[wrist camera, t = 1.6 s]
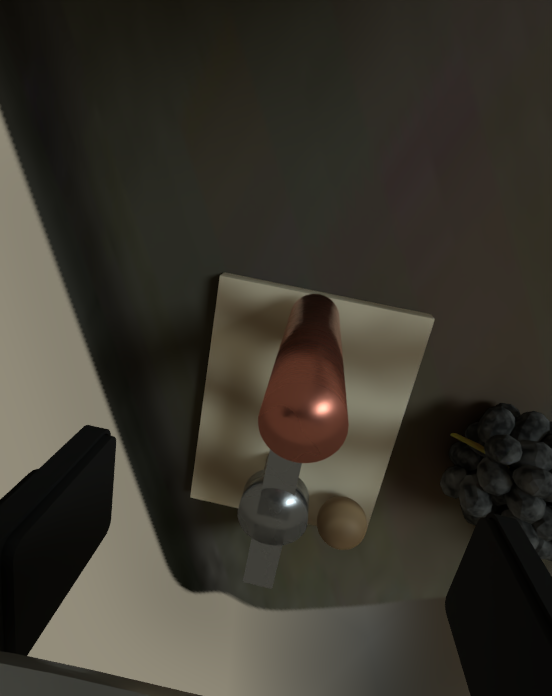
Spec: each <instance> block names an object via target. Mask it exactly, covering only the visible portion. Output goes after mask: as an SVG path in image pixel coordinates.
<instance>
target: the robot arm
mask: <svg viewBox="0 0 552 696" xmlns="http://www.w3.org/2000/svg"><path fill="white" fill-rule="evenodd" d="M115 451H116V438H115V437H113V436H111V433H110V431H109V430H108V429H104V428H99V427H94V426H90V425H86V426H84V427H83V428H82V429H81V430H80V431H79V432H78V433H77V434H75V435H74V436H73V437H72V438H71V439H70V440H69V441H68V442H67V443H66V444H65V445H64V446H63V447H62V448H61V449H60V450H58V451H57V452H56V453H55V455H53V456H52V457H51V458H50V459H49V460H48V461H47V462H46V463H45V464H44V465H43V466H42V467H40V468H39V469H36V470H33V471H32V472H30V473H29V474H28V475H27V476H25V477H24V478H23V479H22V480H21V481H20V482H19V483H18V484H17V485H16V486H15V487H14V488H13V489H12V490H11V491H9V492H8V493H7V494H6V495H5V496H4V497H3V498H2V499H1V500H0V696H201V695H197V694H192V693H188V692H183V691H179V690H175V689H171V688H167V687H162V686H158V685H154V684H150V683H145V682H141V681H137V680H132V679H128V678H124V677H120V676H115V675H111V674H107V673H103V672H98V671H94V670H89V669H85V668H80V667H76V666H70V665H66V664H61V663H57V662H51V661H47V660H43V659H38V658H33V657H29V656H27V655H28V653H29V652H30V650H31V649H32V647H33V646H34V644H35V643H36V641H37V639H38V638H39V637H40V635H41V633H42V632H43V630H44V629H45V627H46V626H47V624H48V623H49V621H50V620H51V618H52V616H53V615H54V613H55V612H56V611H57V609H58V607H59V606H60V604H61V603H62V601H63V599H64V598H65V597H66V595H67V593H68V592H69V591H70V589H71V587H72V586H73V584H74V583H75V581H76V580H77V578H78V577H79V575H80V574H81V572H82V571H83V569H84V567H85V566H86V564H87V563H88V561H89V560H90V558H91V557H92V555H93V554H94V552H95V551H96V549H97V548H98V546H99V545H100V543H101V541H102V540H103V538H104V537H105V535H106V534H107V531H108V529H109V526H110V522H111V511H112V496H113V481H114V466H115ZM445 608H446V614H447V618H448V621H449V624H450V627H451V631H452V635H453V638H454V641H455V645H456V648H457V651H458V655H459V658H460V661H461V665H462V668H463V671H464V675H465V678H466V682H467V685H468V688H469V692H470V695H471V696H552V577H551V575H550V573H549V572H548V570H547V568H546V567H545V565H544V563H543V562H542V560H541V558H540V557H539V555H538V554H537V552H536V550H535V549H534V547H533V545H532V544H531V542H530V540H529V539H528V537H527V535H526V534H525V532H524V530H523V529H522V527H521V525H520V524H519V522H518V521H517V520H516V519H515V518H512V517H507V516H503V515H498V514H493V513H489V514H488V515H487V516H486V518H484V517H482V518H480V519H479V520H478V522H477V524H476V527H475V529H474V532H473V534H472V536H471V539H470V541H469V544H468V546H467V548H466V551H465V553H464V555H463V558H462V560H461V563H460V565H459V567H458V570H457V572H456V574H455V577H454V579H453V582H452V584H451V586H450V589H449V591H448V594H447V596H446V601H445Z"/></svg>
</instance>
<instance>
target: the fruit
mask: <svg viewBox="0 0 552 696" xmlns="http://www.w3.org/2000/svg"><path fill="white" fill-rule="evenodd" d="M450 435H451V436H453V437H454V438H456V439H458V440H460V441H462V442H459V441H458V442H457V443H455V444H453V445H452V446H451V448H450V451H449V457H450V459H451V461H452V462H453V463H454V464H455V465H456V466H454V467H448V469H447V470H446V471H445V472H444V473H443V475H442V478H441V482H440V485H441V488H442V490H443V492H444V494H446V495H447V496H450V497H452V498H455V499H456V498H459V499H460V505H461V509H462V512H463V515H464V518H465V519H466V520H467V521H468V523H470V524H473V525H476V524H477V522H478V520H479V519H480V518H482V517H484V518H486V516H487V515H488V514H489V513H493V514H498V515H503V516H507V517H512V518H515V519H516V520H517V521H518V522H519V524H520V525H521V527H522V529H523V530H524V532H525V534H526V535H527V537H528V539H529V540H530V542H531V544H532V545H533V547H534V549H535V550H536V552H537V554H538V555H539V557H540V558H541V559H546V560H549V561H552V422H549V421H548V419H547V418H546V417H545V416H544V415H543V414H542V413H539V412H535V411H531V412H526V413H523V414H522V415H521V416H520V412H519V410H518V409H516V408H515V407H514V406H512V405H511V404H505V403H500V404H498V405H496V406H494V407H493V408H488V409H487V411H486V412H485V413H484V415H483V416H482V417H481V419H480V421H479V422H475V423H473V424H470V425H469V426H468V428H467V429H466V431H465V437H466V438H465V437H463V436H461V435H459V434H456V433H451V434H450Z"/></svg>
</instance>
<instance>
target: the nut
mask: <svg viewBox="0 0 552 696" xmlns="http://www.w3.org/2000/svg"><path fill="white" fill-rule="evenodd" d="M317 528H318V531H319V534H320V536H321V537H322V539H323V540H324V541H325V542H326V543H327V544H328V545H329V546H331V547H333V548H335V549H339V550H348V549H351V548H354V547H355V546H357V545H358V544H359V543H360V542H361V541H362V540H363V538H364V536H365V534H366V530H367V519H366V515H365V513H364V511H363V509H362V507H361V506H360V505H359V504H358V503H357V502H356V501H354V500H353V499H351V498H348V497H344V496H337V497H333V498H331V499H329V500H327V501H326V502H325V503H324V504H323V505H322V506H321V508H320V510H319V512H318V515H317Z"/></svg>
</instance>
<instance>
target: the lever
mask: <svg viewBox="0 0 552 696" xmlns="http://www.w3.org/2000/svg"><path fill="white" fill-rule="evenodd" d="M258 427H259V432H260V435H261V437H262V439H263V441H264V442H265V444H266V445H267V446H268V447H269V449H270V452H269V457H268V462H267V466H266V469H264V470H261V471H258V472H256V473H255V474H253V475H252V476H251V477H250V478H249V479H248V481H247V482H246V484H245V487H244V490H243V494H242V497H241V501H240V504H239V508H238V520H239V523H240V525H241V527H242V529H243V530H244V531H245V533H246V534H247V535H249V536H250V537H251V538H252V539H251V544H250V549H249V554H248V559H247V564H246V569H245V574H244V578H243V582H245V583H249V584H254V585H258V586H262V587H267V588H271V589H272V587H273V582H274V578H275V574H276V570H277V566H278V562H279V557H280V553H281V549H282V545H285V544H289V543H291V542H293V541H295V540H297V539H298V538H299V537H300V536H302V534H303V533H304V532H305V530H306V527H307V523H308V510H309V493H308V489H307V487H306V485H305V484H304V482H303V481H302V480H301V479H300V478H299V474H300V470H301V465H302V463H313V462H318V461H321V460H324V459H326V458H328V457H330V456H332V455H333V454H334V453H336V452H337V451H338V450H339V449H340V447H341V446H342V445H343V443H344V441H345V439H346V437H347V434H348V427H349V422H348V411H347V399H346V388H345V376H344V365H343V354H342V342H341V331H340V319H339V312H338V309H337V307H336V305H335V304H334V302H333V301H332V300H331V299H329V298H328V297H326V296H324V295H321V294H309V295H305V296H303V297H301V298H300V299H299V300H297V301H296V303H295V304H294V305H293V307H292V309H291V312H290V315H289V319H288V322H287V325H286V328H285V331H284V335H283V338H282V341H281V344H280V347H279V351H278V354H277V357H276V360H275V363H274V367H273V370H272V373H271V376H270V379H269V383H268V386H267V389H266V392H265V395H264V399H263V402H262V405H261V408H260V412H259V416H258Z"/></svg>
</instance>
